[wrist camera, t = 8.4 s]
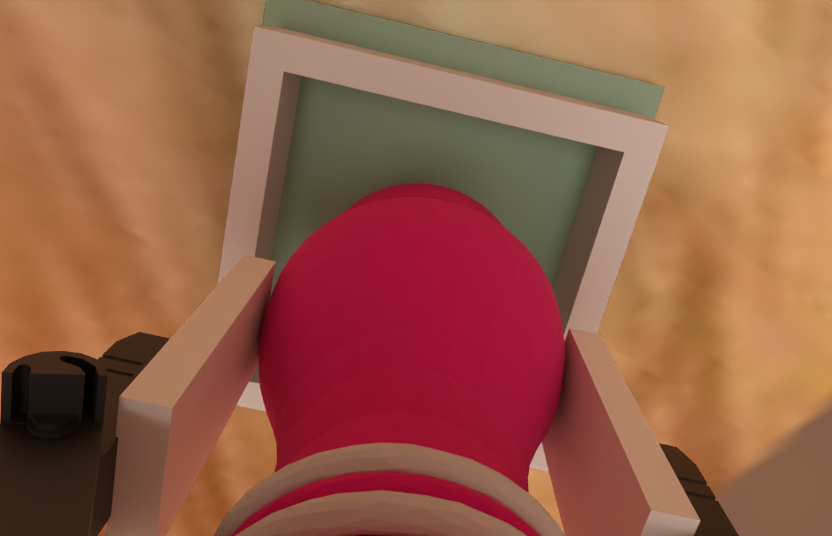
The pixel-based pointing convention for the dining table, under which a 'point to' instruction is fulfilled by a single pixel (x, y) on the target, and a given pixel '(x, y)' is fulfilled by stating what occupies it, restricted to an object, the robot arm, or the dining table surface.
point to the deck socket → (438, 145)
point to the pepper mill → (406, 376)
